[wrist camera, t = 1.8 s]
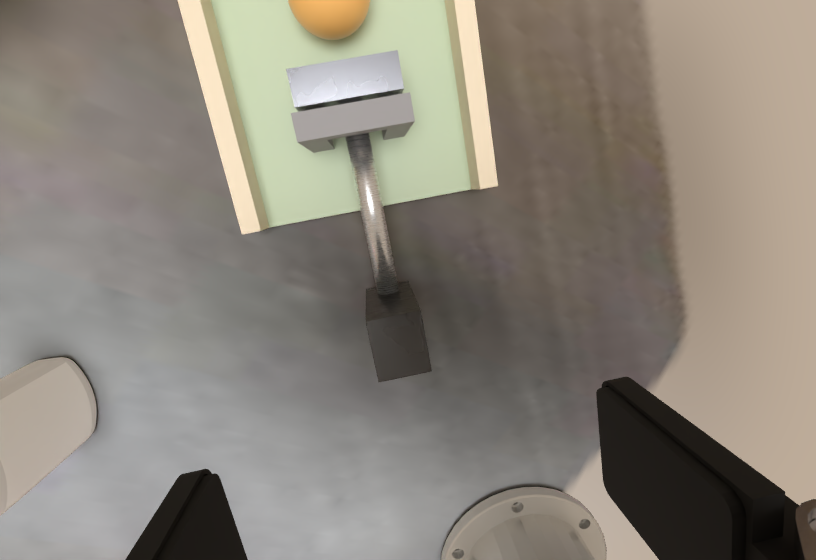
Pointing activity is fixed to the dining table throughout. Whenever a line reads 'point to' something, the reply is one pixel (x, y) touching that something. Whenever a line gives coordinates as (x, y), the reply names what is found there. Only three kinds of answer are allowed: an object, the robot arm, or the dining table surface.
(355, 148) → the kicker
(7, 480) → the eye dropper bottle
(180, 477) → the robot arm
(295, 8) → the ball
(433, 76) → the pitch
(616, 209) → the dining table surface
